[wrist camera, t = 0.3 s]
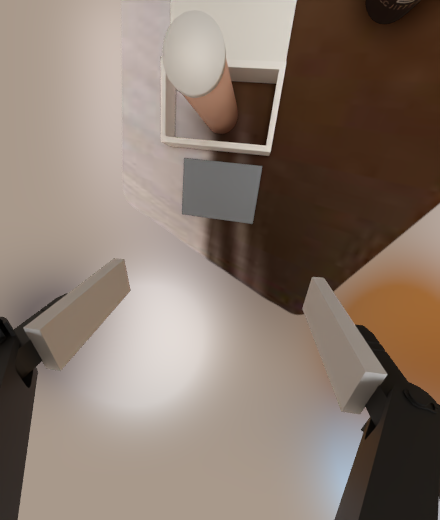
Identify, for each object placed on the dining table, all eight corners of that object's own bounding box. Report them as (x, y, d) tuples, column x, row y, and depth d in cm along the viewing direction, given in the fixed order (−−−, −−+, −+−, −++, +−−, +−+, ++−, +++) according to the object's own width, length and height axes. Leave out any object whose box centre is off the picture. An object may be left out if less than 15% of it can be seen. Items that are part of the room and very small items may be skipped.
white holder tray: (173, -26, 28) (160, -58, 24) (301, -27, 26) (308, -63, 22) (170, 146, 36) (160, 141, 32) (268, 155, 34) (270, 152, 30)
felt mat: (184, 158, 36) (184, 158, 36) (262, 166, 34) (262, 166, 34) (182, 213, 40) (182, 214, 39) (252, 223, 38) (252, 223, 38)
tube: (205, 92, 32) (162, 9, 17) (241, 94, 31) (228, 10, 16) (203, 133, 34) (162, 92, 19) (236, 136, 34) (220, 96, 19)
